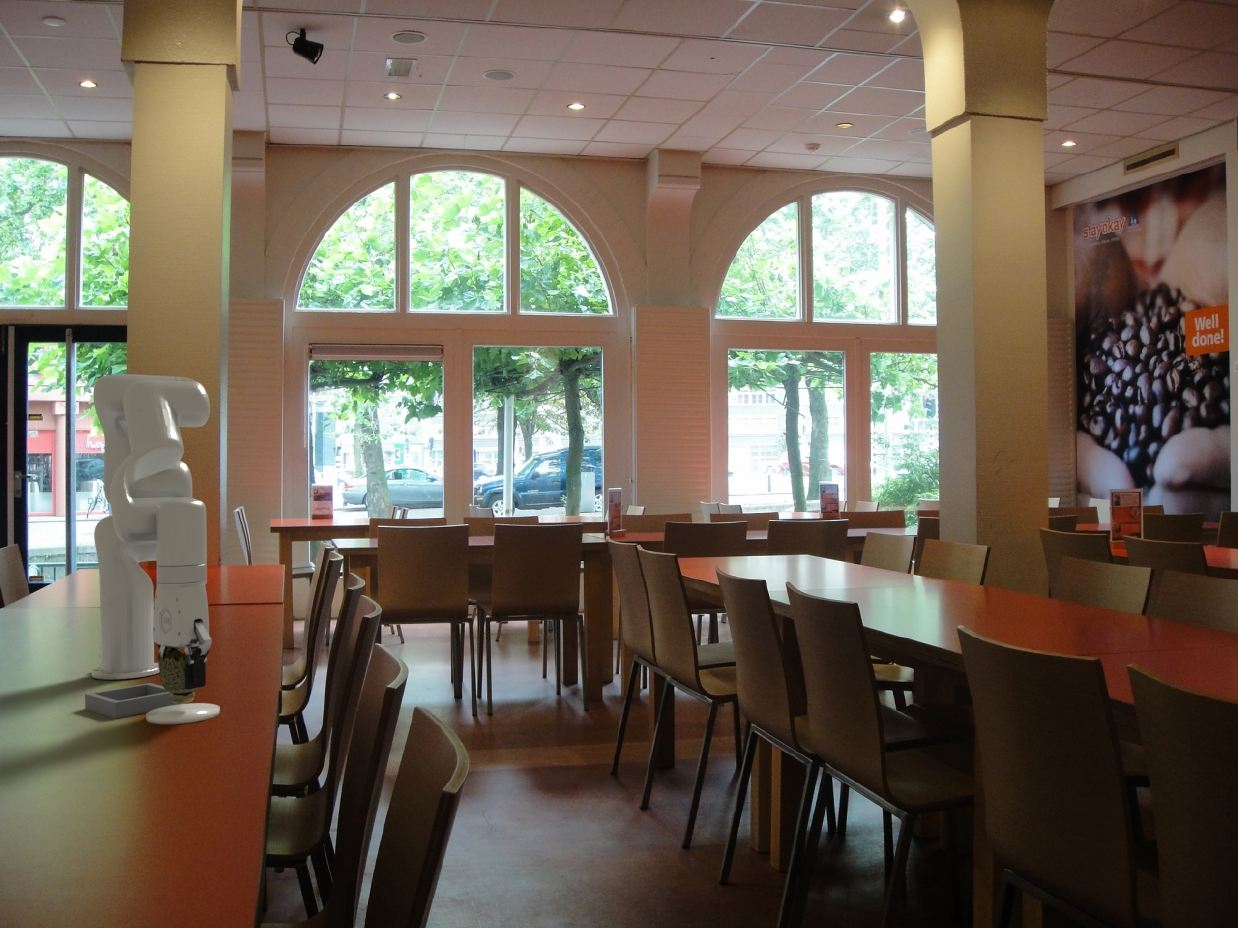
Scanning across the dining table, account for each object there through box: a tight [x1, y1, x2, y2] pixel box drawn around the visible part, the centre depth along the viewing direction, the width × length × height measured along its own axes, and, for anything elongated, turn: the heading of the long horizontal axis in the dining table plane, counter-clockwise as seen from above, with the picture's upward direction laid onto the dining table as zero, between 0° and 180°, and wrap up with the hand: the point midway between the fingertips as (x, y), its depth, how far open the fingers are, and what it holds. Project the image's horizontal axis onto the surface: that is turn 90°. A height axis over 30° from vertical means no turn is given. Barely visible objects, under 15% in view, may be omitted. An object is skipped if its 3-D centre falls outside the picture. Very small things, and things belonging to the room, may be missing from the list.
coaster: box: [145, 702, 221, 725], centre depth 165 cm, size 11×11×1 cm
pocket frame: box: [84, 682, 182, 719], centre depth 172 cm, size 11×11×2 cm
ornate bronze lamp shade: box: [156, 649, 199, 704], centre depth 165 cm, size 8×7×8 cm
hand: (182, 683), depth 165 cm, fingers closed on ornate bronze lamp shade, 7 cm apart
